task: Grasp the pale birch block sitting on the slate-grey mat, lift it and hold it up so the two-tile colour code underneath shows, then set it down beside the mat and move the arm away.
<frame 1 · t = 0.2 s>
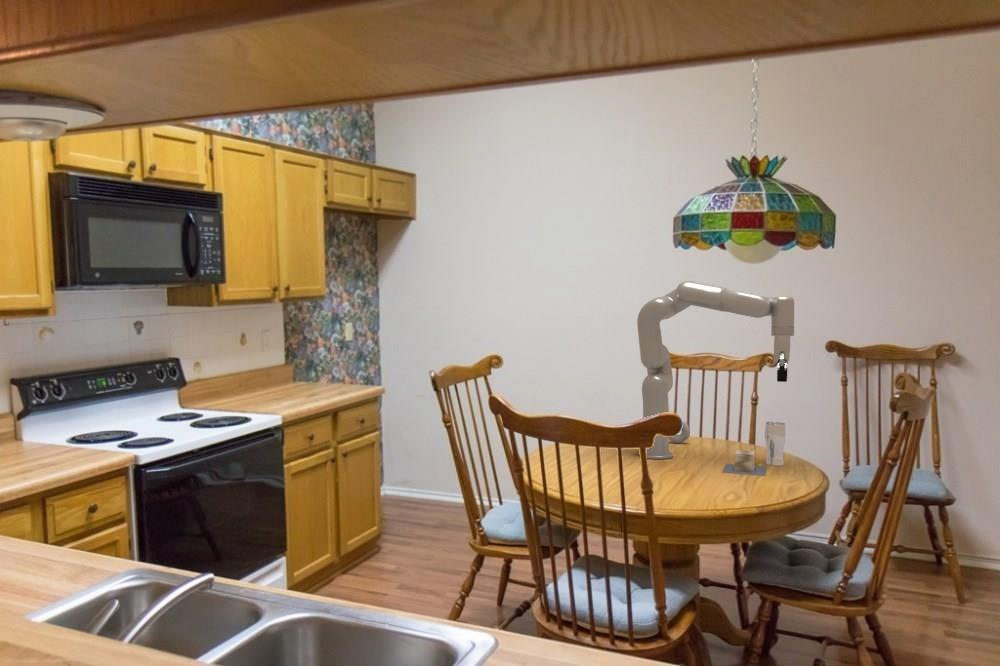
hand: (782, 379, 264), 31 cm above the table, tool pointing down, fingers open, 9 cm apart
donut: (677, 443, 306), on the table
beer glass: (774, 465, 267), on the table
code mat: (744, 470, 259), on the table
birch block: (744, 469, 259), point 1 cm above the table, touching code mat
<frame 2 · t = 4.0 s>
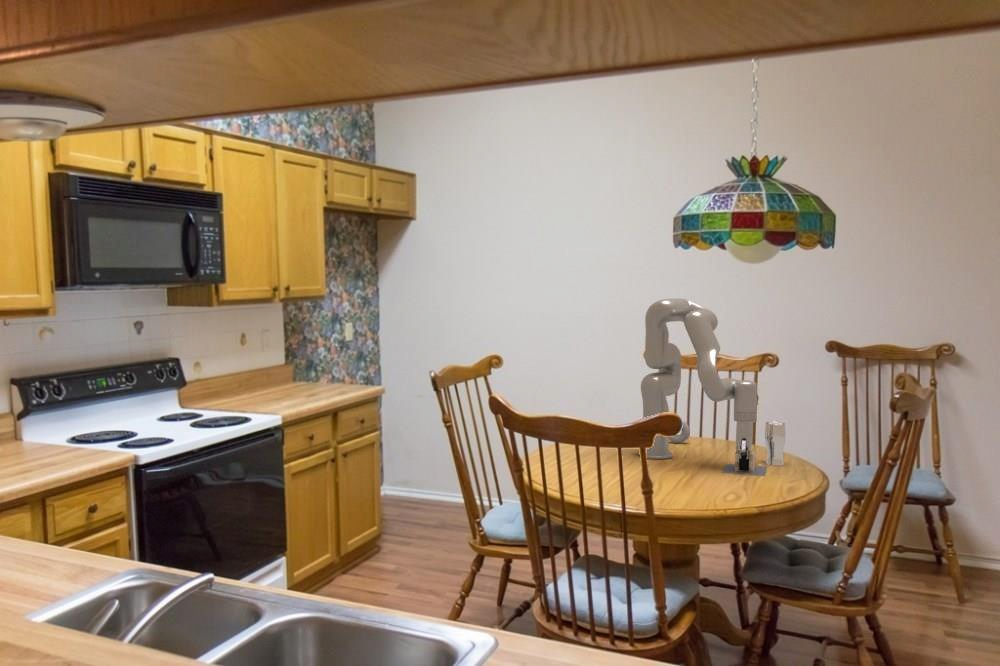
hand: (744, 467, 259), 1 cm above the table, tool pointing down, fingers closed on birch block, 6 cm apart
birch block: (744, 469, 259), point 1 cm above the table, touching code mat, gripper
everything else where it was.
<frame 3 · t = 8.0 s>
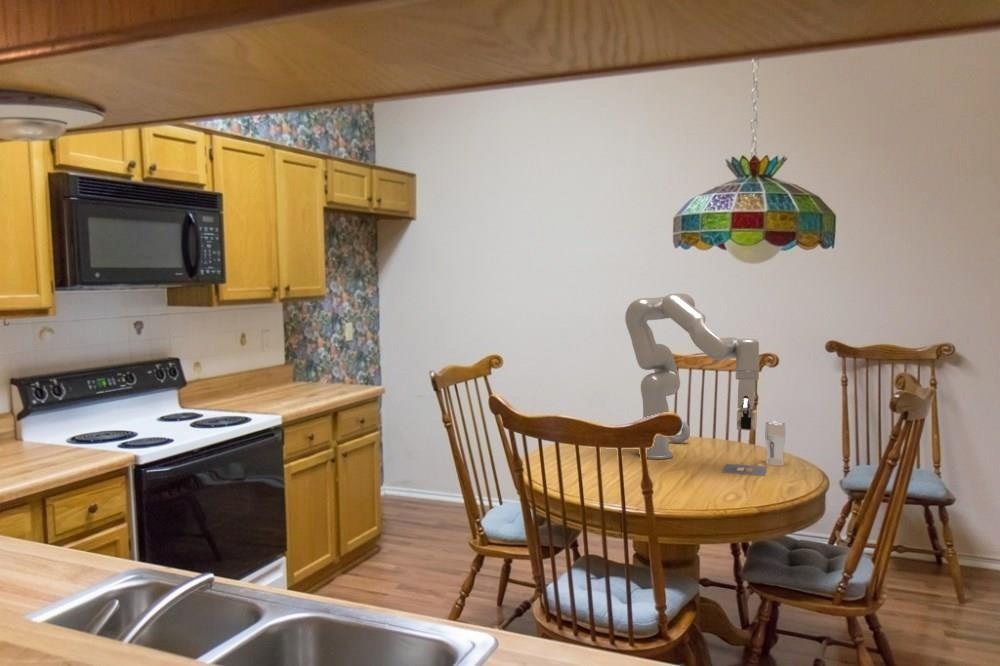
hand: (746, 426, 258), 16 cm above the table, tool pointing down, fingers closed on birch block, 6 cm apart
birch block: (746, 428, 258), point 15 cm above the table, touching gripper
everything else where it was.
when the fingers open (2 cm above the table, at t = 12.2 s): birch block drops 2 cm, on the table.
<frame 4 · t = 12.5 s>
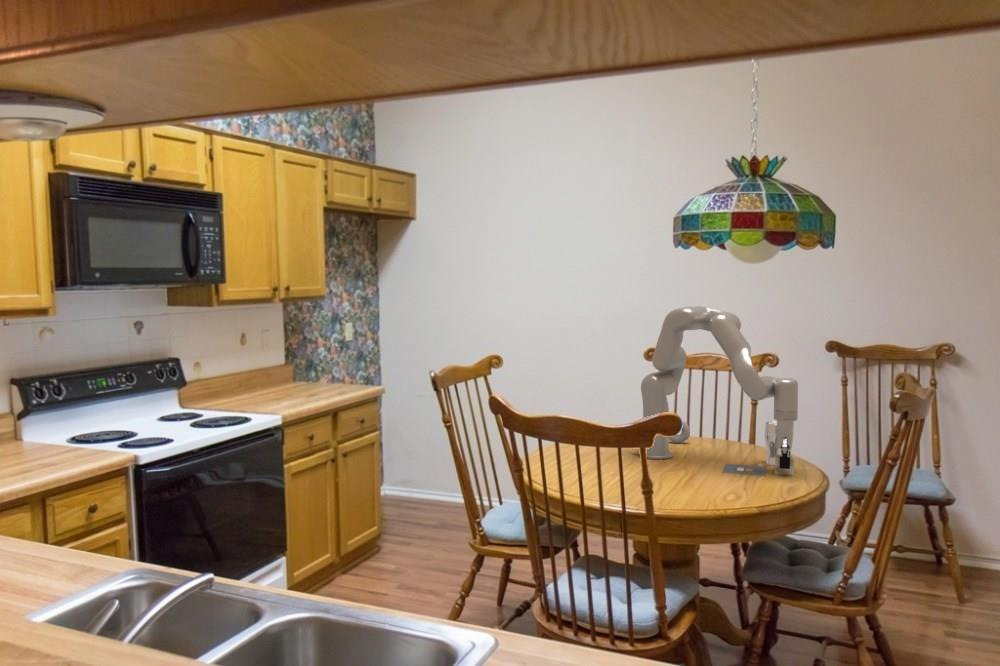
hand: (785, 465, 254), 3 cm above the table, tool pointing down, fingers open, 9 cm apart
birch block: (784, 474, 254), on the table
everything else where it was.
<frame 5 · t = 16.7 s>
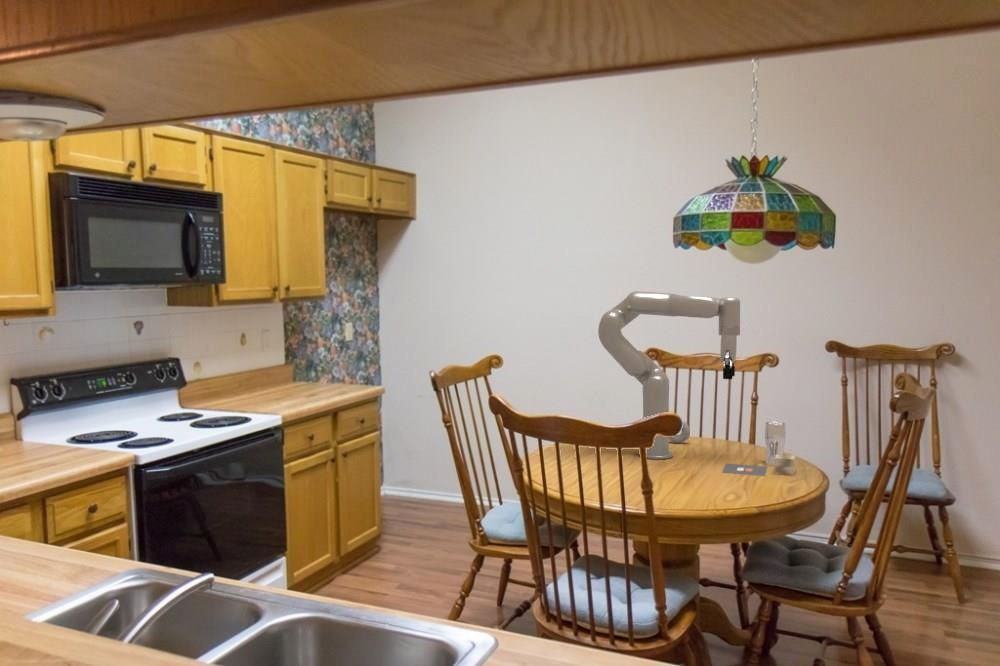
hand: (728, 377, 275), 30 cm above the table, tool pointing down, fingers open, 9 cm apart
nothing on the table moved.
at the end: birch block inside the target area (0.1 cm from its centre), on the table; birch block tilted 0°; the gripper is holding nothing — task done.
